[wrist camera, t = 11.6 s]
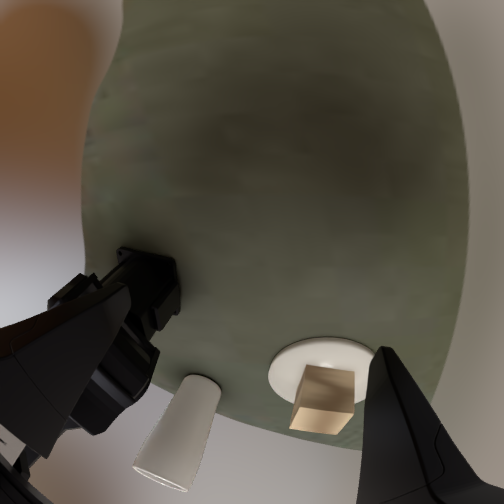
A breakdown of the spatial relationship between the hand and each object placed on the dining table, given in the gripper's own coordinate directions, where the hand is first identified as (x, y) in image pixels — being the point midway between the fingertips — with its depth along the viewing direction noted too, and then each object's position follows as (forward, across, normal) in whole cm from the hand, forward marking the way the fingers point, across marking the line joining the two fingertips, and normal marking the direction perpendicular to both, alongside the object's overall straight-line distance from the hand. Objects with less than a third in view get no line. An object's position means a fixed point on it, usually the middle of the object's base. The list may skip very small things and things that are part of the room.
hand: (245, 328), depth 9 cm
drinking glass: (+12, +7, +26) cm, 29 cm away
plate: (+12, -7, +17) cm, 22 cm away
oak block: (+11, -7, +17) cm, 22 cm away
